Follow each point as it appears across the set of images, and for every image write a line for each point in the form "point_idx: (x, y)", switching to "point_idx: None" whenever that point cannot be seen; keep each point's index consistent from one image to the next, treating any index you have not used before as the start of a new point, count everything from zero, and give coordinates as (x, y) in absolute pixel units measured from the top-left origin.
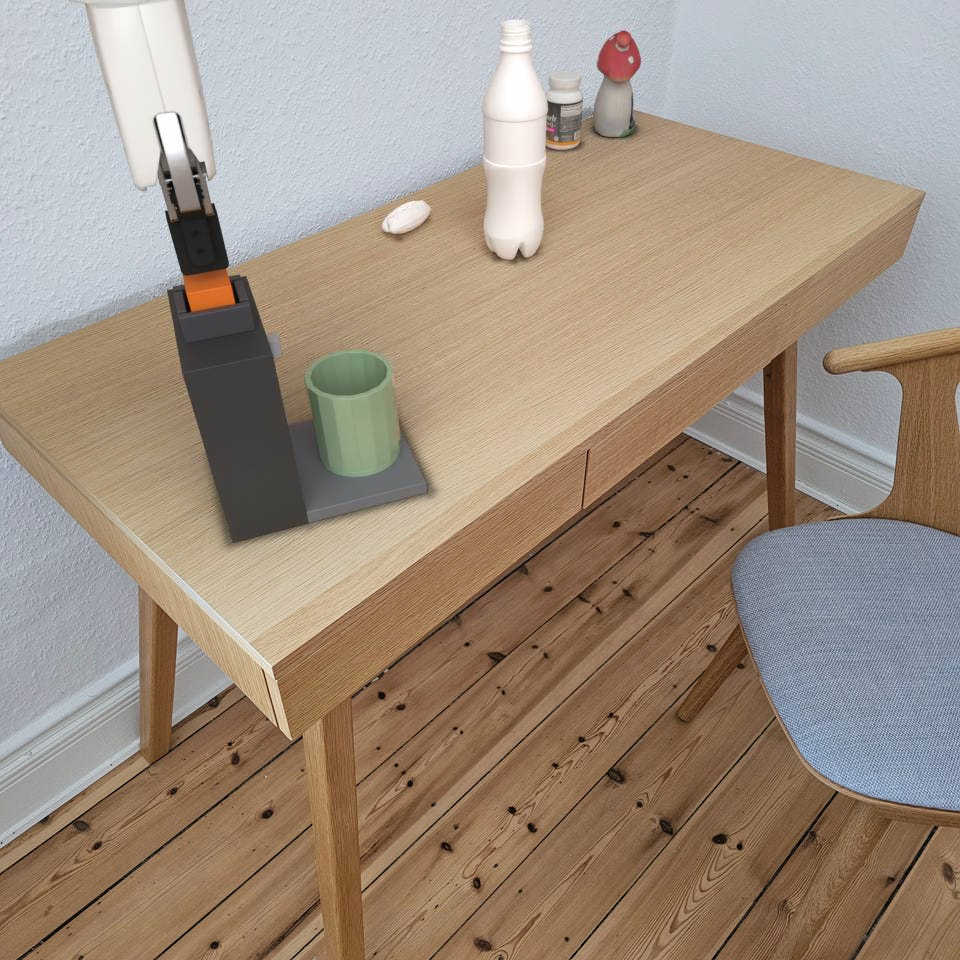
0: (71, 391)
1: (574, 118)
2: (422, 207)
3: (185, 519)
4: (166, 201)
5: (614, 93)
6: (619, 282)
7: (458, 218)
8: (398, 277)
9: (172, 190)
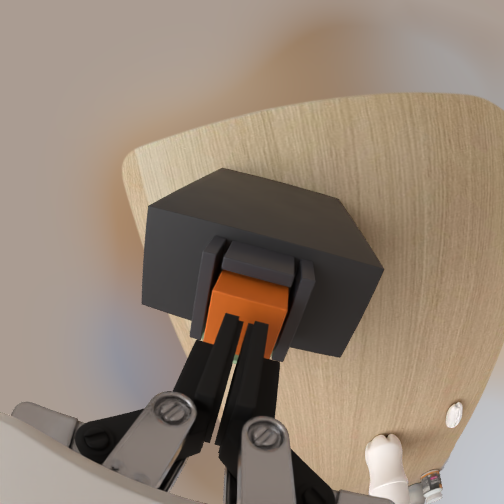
0: (481, 143)
1: (423, 487)
2: (449, 425)
3: (270, 146)
4: (130, 432)
5: (414, 501)
6: (310, 454)
7: (432, 431)
8: (420, 392)
9: (82, 454)
